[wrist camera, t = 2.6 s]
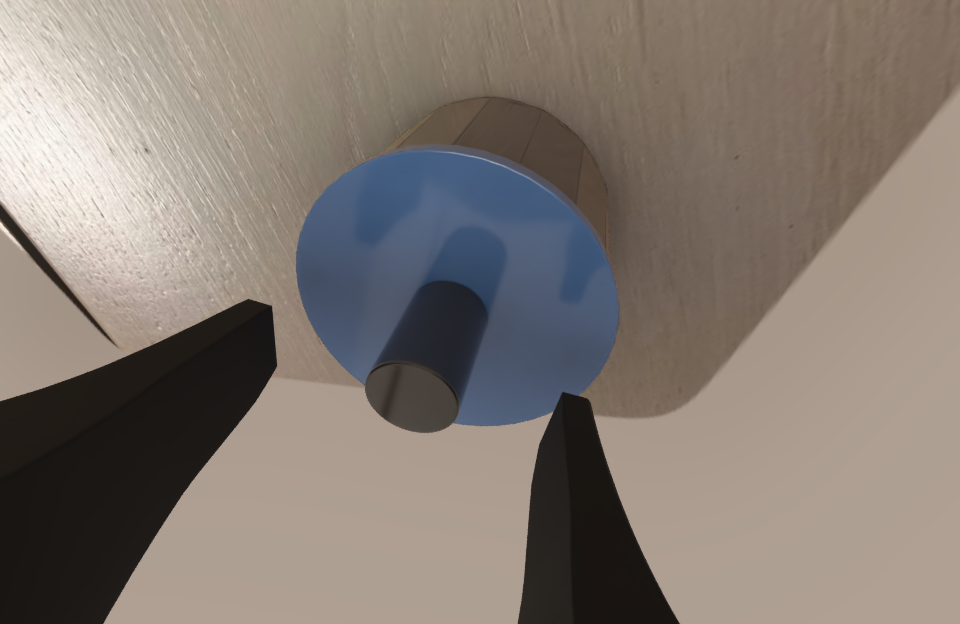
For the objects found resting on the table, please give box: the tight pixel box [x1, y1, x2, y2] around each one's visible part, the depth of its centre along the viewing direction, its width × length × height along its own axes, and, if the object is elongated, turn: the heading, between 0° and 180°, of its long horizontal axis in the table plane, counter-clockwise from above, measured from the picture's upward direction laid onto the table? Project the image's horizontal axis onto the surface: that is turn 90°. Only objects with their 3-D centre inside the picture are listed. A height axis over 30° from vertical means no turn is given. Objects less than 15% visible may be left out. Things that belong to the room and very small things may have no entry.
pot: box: [381, 97, 609, 254], centre depth 18 cm, size 9×9×6 cm
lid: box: [296, 144, 619, 433], centre depth 14 cm, size 10×10×5 cm
